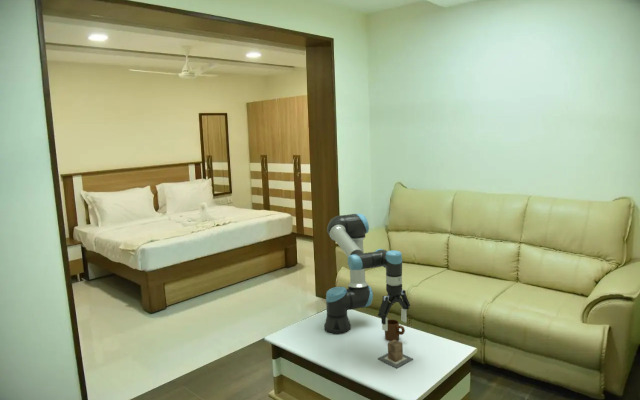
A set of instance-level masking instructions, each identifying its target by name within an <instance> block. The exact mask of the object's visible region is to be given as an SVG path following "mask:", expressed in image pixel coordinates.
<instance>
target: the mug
mask: <svg viewBox="0 0 640 400" xmlns="http://www.w3.org/2000/svg"><path fill="white" fill-rule="evenodd" d="M400 329H401V330H400ZM405 333H406V329H405V327H404V326H403V325H400V322H399V321H398V320H397V319H391V318H390V319H388V331H385V330H384V338H385V340H386V341H387V342H391V341H393V340H397V341H399V339H400V336H401V335H403V334H405Z"/></svg>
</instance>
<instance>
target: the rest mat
mask: <svg viewBox="0 0 640 400" xmlns="http://www.w3.org/2000/svg"><path fill="white" fill-rule="evenodd" d="M377 360H379V361H380V362H383V363H384V364H387V365H388V366H390V367H392V368H394V369H398V368H401V367H403V366H404V365H407V364H408V363H409V362H411V361H413V360H414V358H412V357H410V356H408V355H405V354H404V353H403V359H401V360H399V361H397V362H395V361H393V360H391V359H388V352H387V353H386V354H383V355H382V356H379V357H377Z"/></svg>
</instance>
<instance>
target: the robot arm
mask: <svg viewBox="0 0 640 400" xmlns="http://www.w3.org/2000/svg"><path fill="white" fill-rule="evenodd" d="M369 230H370V227H369V222H368V219H367V217H366V216H365V215H364V214H363V213H351V214H344V215H340V214H339V215H336V216H334V217H332V218H331V219H330V221H329V222H328V224H327V227H326V232H327V234H328V236H329V238H330V239H331V240H332V241H334V242H335V243H336V244H337V245H338V246H339V248H340V249H341V251H342V252H343V253H344V254H345V256H346V257H347V265H348V268H349V278H350V281H349V283H348V285H347V288H346V287H344V286H335V287H331V288H329V289H328V290H327V291H326V292H325V293H326V294H325V296H326V297H325V301H326V302H325V303H326V304H325V306H326V317H325V321H324V324H323V327H324V328H323V329H324V331H325V332H326V333H327V334H332V335H343V334H347V333H348V332H350V331H351V330H352V329H351V326H352V325H351V322H350V320H349V316H348V311H349V310H355V309H364V308H367V307H369V306H371V304H372V302H373V299H374V293H373V289H372V287H371V286H370V285H369V283H368V282H367V281H366V270H367V269H375V268H380V267H382V268H385V282H386V283H385V284H386V286H385V290H386V293H387V295H383V296H382V299H381V304H380V308H379V311H378V314H377V316H378V317H379V318H381V325H382V326H381V327H382V328H381V330H382V331H384V332H385V331H388V320H389V318H388V317H387V316H388V314H389V312H390V310H391V308H392V306H393V305H394V304H396V303H398V304H399V305H400V306H401V308H400V309H401V310H400V314H401V315H400V320H401V322H403V323H407V314H408V310H409V309H410V307H411V304H410V301H409V299H408V296H407V293H406V291H407V290H404V289H403V256H402V255H403V254H402V252H401V251H400V250H395V249H393V250H386V249H383V248H378V249H375V251H372V252H364V250H365V249H364V239H365V238H366V234H367V233H369Z"/></svg>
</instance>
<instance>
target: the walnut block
mask: <svg viewBox="0 0 640 400" xmlns="http://www.w3.org/2000/svg"><path fill="white" fill-rule="evenodd" d="M403 345H404V344H403V342H401V341H399V340H393V341H387V353H388V359H391V360H393V361H395V362H397V361H399V360H401V359H403V354H404V353H403Z"/></svg>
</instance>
